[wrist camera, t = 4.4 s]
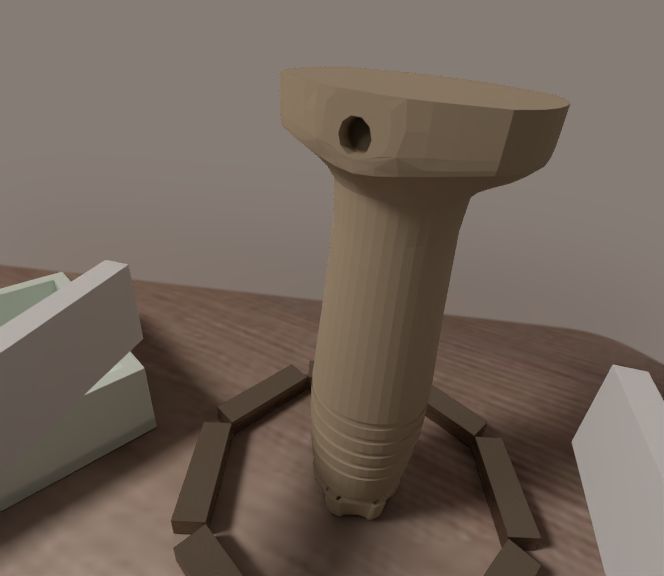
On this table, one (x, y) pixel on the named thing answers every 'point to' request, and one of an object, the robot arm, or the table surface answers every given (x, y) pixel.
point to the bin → (75, 411)
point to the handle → (396, 246)
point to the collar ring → (214, 440)
